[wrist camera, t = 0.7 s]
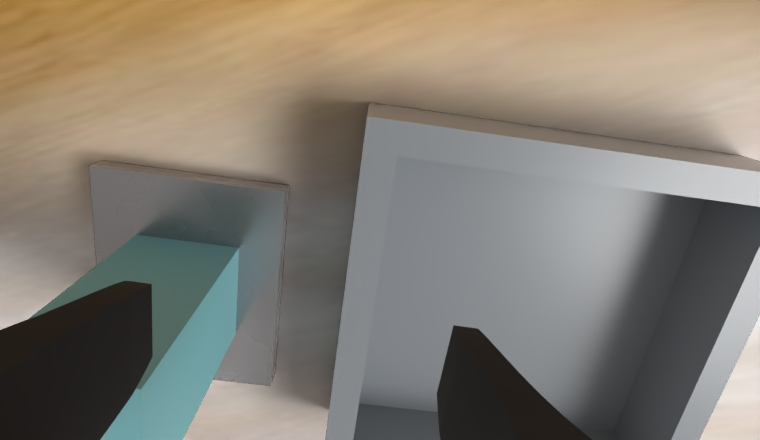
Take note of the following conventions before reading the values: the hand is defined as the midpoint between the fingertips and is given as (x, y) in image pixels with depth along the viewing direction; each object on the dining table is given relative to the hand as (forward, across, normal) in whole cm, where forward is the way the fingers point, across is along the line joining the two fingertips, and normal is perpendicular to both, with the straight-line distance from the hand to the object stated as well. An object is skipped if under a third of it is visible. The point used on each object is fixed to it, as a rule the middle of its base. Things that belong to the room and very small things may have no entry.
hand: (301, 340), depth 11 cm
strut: (+9, +6, +4) cm, 12 cm away
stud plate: (+10, +6, +4) cm, 13 cm away
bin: (+10, -9, +3) cm, 14 cm away
